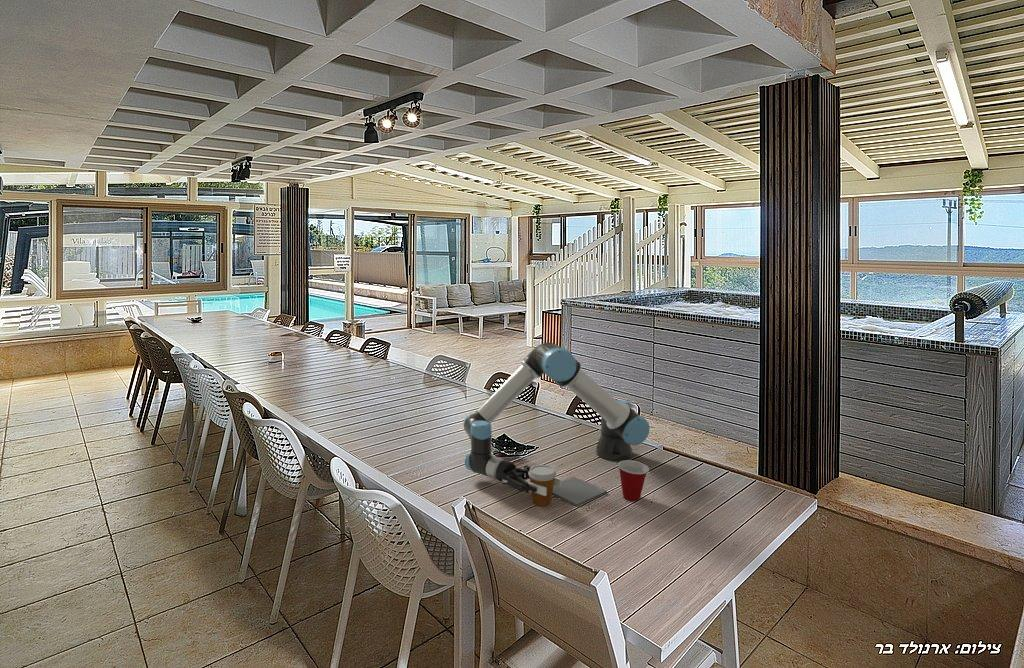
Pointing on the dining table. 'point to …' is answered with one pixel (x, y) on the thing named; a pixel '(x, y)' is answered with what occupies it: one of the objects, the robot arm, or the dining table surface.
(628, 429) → the robot arm
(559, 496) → the slate board
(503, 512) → the dining table surface
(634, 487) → the plastic cup
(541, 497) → the disposable coffee cup
